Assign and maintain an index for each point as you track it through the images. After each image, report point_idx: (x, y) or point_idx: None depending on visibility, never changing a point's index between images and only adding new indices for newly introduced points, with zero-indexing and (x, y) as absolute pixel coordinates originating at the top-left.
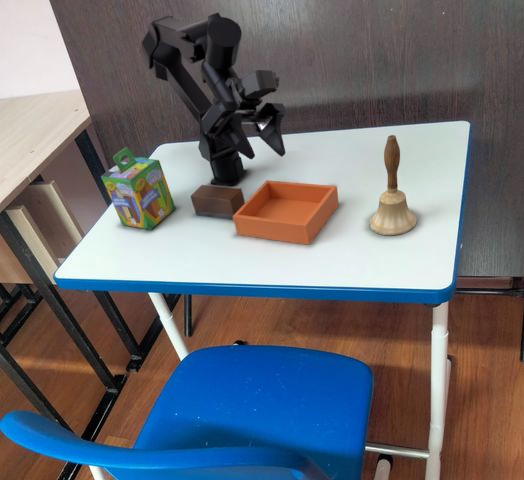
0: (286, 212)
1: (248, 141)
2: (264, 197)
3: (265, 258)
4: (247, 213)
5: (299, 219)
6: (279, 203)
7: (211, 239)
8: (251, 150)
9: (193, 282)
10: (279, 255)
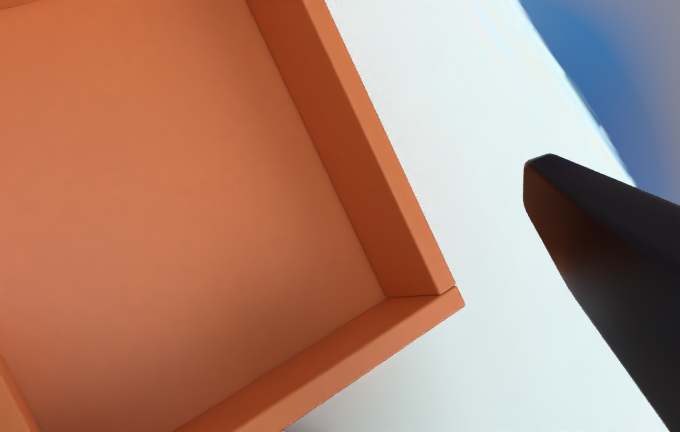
0: (128, 242)
1: (659, 246)
2: None
3: (404, 47)
4: (347, 339)
5: (128, 113)
6: (85, 374)
7: (492, 375)
8: (591, 177)
9: (625, 169)
10: (356, 9)
